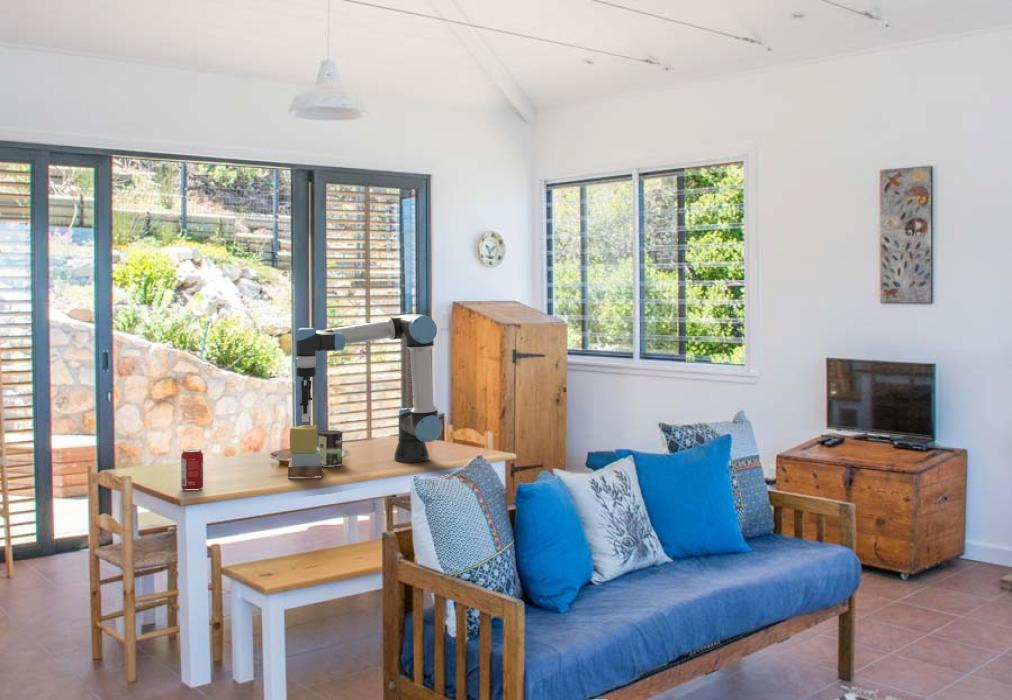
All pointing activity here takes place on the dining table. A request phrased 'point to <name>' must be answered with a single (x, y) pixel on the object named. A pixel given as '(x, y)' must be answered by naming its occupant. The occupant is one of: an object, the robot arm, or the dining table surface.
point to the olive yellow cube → (303, 439)
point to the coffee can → (330, 447)
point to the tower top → (306, 459)
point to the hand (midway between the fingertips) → (306, 419)
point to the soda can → (192, 469)
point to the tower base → (304, 470)
